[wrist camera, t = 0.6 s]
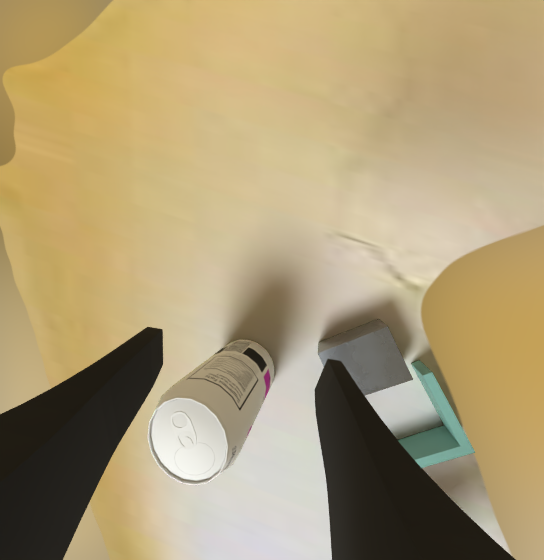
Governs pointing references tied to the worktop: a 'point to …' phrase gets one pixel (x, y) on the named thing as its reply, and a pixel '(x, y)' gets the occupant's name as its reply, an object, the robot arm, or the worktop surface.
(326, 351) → the block
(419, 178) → the worktop surface
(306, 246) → the worktop surface
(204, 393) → the supplement can
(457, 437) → the dock
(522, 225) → the worktop surface
